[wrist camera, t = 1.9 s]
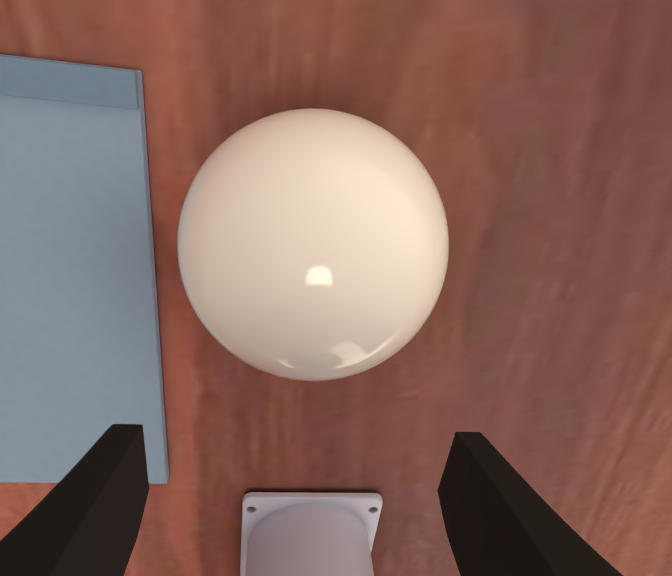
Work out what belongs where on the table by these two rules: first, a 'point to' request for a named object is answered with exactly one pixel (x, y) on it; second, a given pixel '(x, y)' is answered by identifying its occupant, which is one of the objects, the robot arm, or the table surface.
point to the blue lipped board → (75, 268)
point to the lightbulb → (313, 244)
